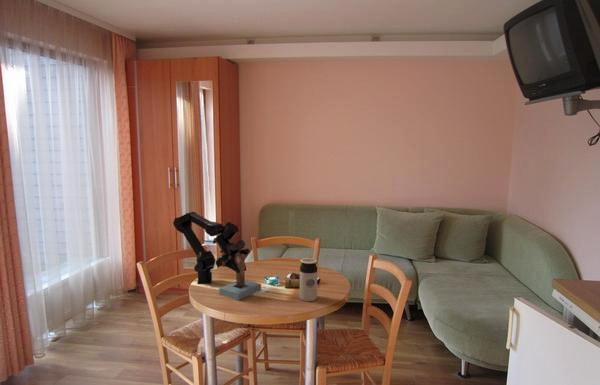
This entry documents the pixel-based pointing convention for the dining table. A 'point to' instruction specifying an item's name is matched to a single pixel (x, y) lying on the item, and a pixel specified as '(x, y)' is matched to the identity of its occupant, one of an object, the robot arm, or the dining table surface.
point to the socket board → (239, 290)
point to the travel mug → (308, 279)
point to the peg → (241, 266)
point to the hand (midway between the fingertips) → (242, 271)
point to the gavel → (292, 281)
